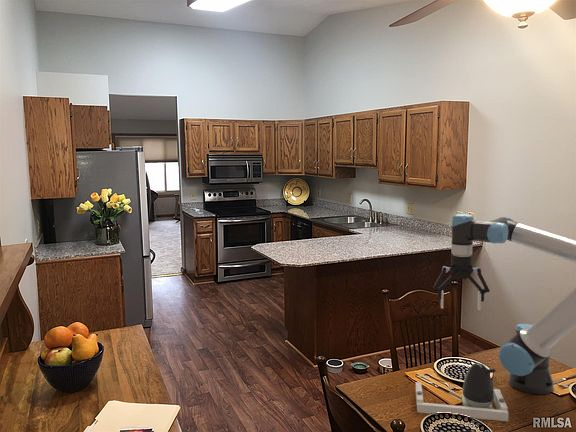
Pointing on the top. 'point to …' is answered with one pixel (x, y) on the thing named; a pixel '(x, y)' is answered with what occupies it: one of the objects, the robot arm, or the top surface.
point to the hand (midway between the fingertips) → (460, 308)
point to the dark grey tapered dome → (478, 386)
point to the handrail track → (465, 407)
